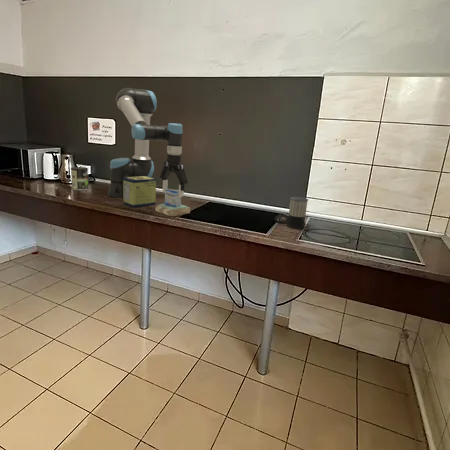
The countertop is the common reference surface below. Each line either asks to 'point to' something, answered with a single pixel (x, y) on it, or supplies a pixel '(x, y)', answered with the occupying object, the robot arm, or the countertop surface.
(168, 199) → the medicine box
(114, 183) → the robot arm
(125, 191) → the protein box
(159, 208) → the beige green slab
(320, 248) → the countertop surface
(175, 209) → the mat
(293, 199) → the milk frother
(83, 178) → the coffee can
